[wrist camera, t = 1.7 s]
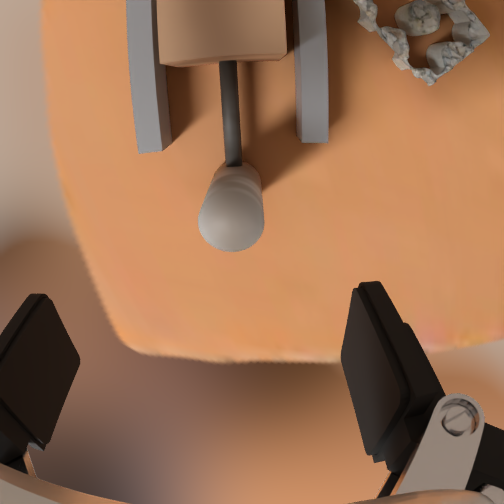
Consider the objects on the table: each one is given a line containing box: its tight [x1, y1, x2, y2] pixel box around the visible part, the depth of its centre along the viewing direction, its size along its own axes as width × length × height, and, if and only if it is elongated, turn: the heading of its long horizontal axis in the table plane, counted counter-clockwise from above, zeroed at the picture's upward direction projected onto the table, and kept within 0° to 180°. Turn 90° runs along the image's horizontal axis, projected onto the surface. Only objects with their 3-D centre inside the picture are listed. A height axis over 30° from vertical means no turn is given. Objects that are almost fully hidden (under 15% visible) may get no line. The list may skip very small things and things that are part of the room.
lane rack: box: [126, 0, 328, 154], centre depth 15 cm, size 11×14×2 cm
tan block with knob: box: [157, 0, 287, 252], centre depth 15 cm, size 6×16×6 cm, turn 3°
